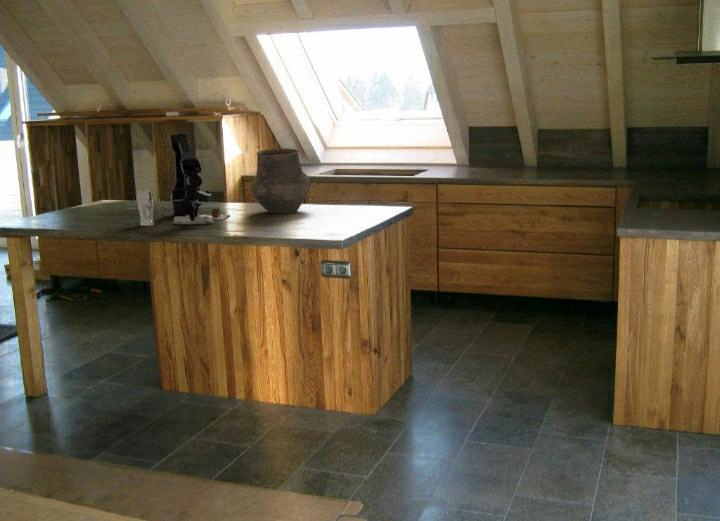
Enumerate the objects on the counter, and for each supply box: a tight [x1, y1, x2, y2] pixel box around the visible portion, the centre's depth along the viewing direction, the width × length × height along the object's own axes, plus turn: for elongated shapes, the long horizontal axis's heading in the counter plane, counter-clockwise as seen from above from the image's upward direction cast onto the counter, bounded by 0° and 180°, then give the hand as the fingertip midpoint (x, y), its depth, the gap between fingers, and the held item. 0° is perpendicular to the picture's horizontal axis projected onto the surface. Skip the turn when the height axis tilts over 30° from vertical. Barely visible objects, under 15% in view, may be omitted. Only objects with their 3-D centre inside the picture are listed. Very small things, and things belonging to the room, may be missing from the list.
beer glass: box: [136, 190, 155, 227], centre depth 373 cm, size 7×7×15 cm
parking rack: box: [185, 207, 231, 222], centre depth 386 cm, size 20×11×5 cm, turn 81°
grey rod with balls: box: [173, 215, 214, 225], centre depth 374 cm, size 18×4×3 cm, turn 81°
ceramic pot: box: [250, 148, 311, 215], centre depth 396 cm, size 28×28×30 cm
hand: (193, 220), depth 374 cm, fingers closed on grey rod with balls, 3 cm apart
